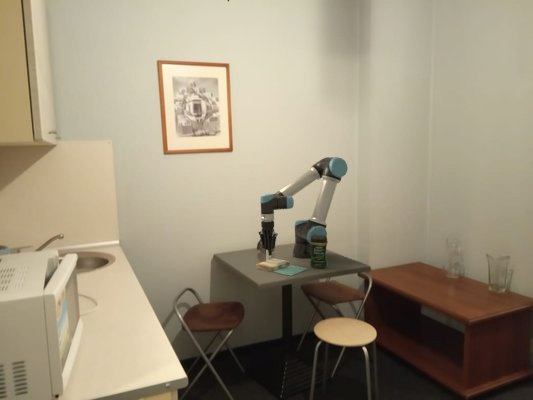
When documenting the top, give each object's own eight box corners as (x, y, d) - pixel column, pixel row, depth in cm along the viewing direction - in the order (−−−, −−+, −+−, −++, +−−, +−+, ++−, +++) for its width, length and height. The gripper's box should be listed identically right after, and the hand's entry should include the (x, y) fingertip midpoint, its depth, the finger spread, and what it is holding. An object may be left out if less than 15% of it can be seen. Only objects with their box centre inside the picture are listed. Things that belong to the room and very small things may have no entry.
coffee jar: (309, 268, 228) (309, 236, 226) (312, 264, 236) (311, 233, 234) (326, 269, 225) (326, 237, 223) (328, 265, 233) (328, 234, 231)
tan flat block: (273, 262, 243) (273, 258, 243) (289, 265, 236) (289, 261, 235) (256, 268, 231) (255, 264, 231) (272, 272, 223) (272, 267, 223)
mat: (289, 265, 235) (289, 264, 235) (307, 269, 227) (307, 268, 227) (272, 272, 223) (272, 271, 223) (290, 276, 215) (290, 275, 215)
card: (272, 261, 237) (272, 258, 237) (284, 263, 231) (284, 260, 231) (266, 263, 232) (266, 260, 232) (278, 265, 226) (278, 263, 226)
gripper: (254, 220, 234) (256, 260, 236) (272, 222, 225) (273, 263, 228) (263, 218, 239) (264, 257, 242) (280, 220, 231) (281, 260, 234)
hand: (268, 260), depth 235 cm, fingers closed
